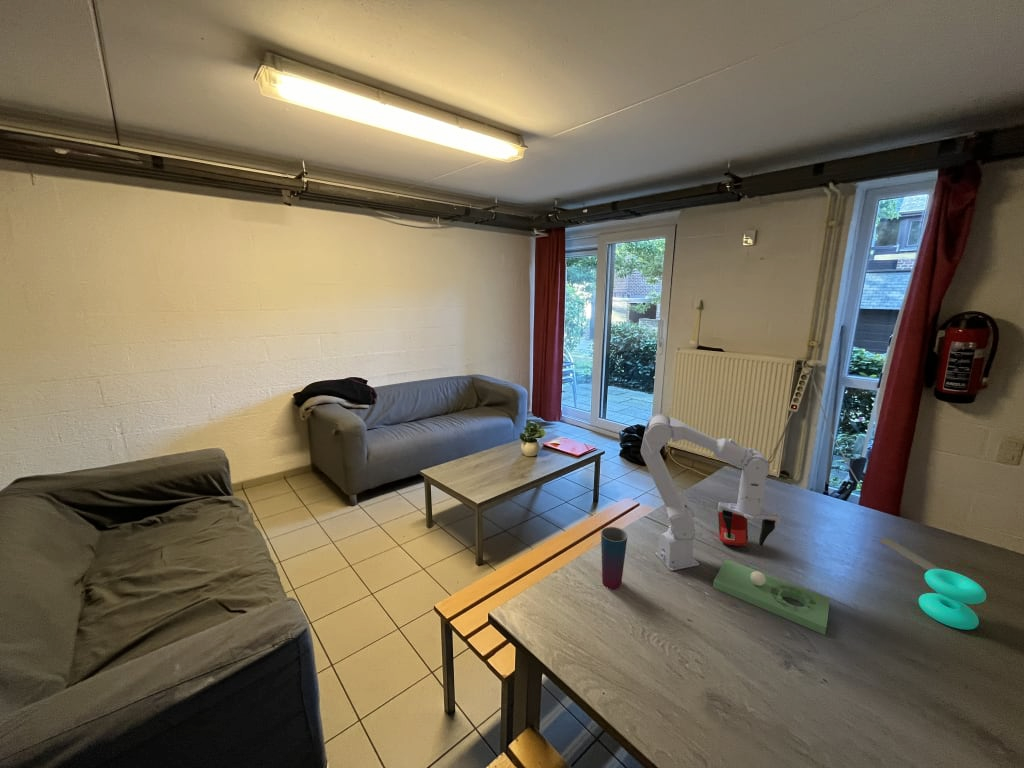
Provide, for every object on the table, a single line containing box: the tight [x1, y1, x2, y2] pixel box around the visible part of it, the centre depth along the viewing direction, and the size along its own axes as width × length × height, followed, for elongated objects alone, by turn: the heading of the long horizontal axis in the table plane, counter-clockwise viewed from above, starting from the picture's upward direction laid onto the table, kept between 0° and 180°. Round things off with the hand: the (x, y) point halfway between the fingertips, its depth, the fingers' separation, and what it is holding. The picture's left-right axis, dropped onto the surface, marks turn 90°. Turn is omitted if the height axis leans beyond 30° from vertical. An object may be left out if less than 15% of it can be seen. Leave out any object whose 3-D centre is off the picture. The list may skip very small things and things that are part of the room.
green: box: [712, 558, 831, 636], centre depth 105 cm, size 24×12×2 cm, turn 49°
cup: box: [600, 526, 628, 590], centre depth 109 cm, size 7×7×15 cm
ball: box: [750, 570, 766, 586], centre depth 106 cm, size 4×4×4 cm
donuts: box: [918, 568, 987, 631], centre depth 97 cm, size 10×10×10 cm
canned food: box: [717, 502, 749, 547], centre depth 127 cm, size 8×8×11 cm
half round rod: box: [879, 536, 941, 571], centre depth 118 cm, size 4×20×2 cm, turn 5°
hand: (744, 539), depth 112 cm, fingers open, 7 cm apart
